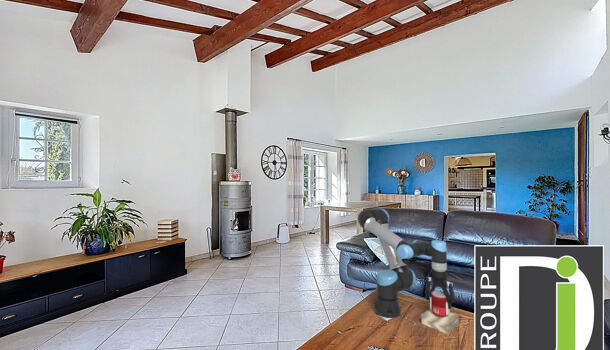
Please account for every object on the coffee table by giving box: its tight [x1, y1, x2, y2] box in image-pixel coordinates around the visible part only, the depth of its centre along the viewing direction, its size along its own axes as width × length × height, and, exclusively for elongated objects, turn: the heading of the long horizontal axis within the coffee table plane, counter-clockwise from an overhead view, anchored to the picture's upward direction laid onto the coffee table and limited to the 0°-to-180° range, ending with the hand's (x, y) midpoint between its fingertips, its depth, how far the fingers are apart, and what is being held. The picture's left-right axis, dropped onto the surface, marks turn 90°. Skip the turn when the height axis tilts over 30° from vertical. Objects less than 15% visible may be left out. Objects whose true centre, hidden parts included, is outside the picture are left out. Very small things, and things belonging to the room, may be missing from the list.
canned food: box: [432, 290, 447, 317], centre depth 154 cm, size 8×8×11 cm
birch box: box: [420, 308, 460, 335], centre depth 154 cm, size 14×14×5 cm
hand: (439, 311), depth 154 cm, fingers closed on canned food, 8 cm apart
